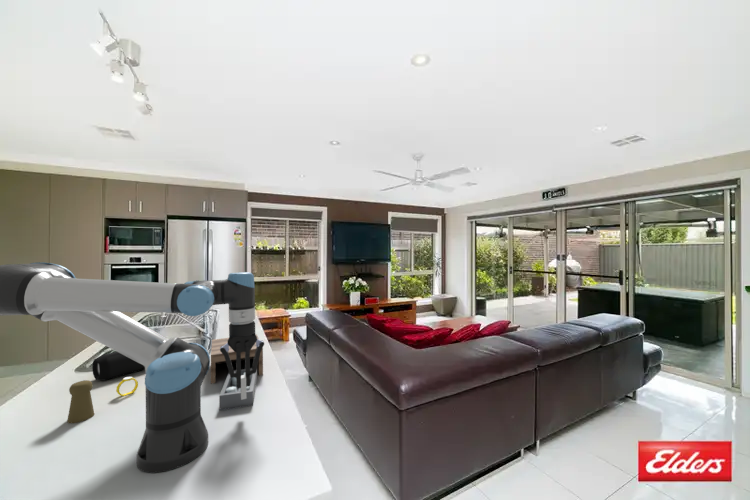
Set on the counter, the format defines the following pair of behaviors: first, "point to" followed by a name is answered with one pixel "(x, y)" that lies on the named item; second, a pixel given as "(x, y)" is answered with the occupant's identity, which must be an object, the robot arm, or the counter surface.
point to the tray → (237, 393)
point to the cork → (80, 402)
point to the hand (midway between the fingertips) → (243, 397)
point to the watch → (123, 382)
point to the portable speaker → (114, 366)
